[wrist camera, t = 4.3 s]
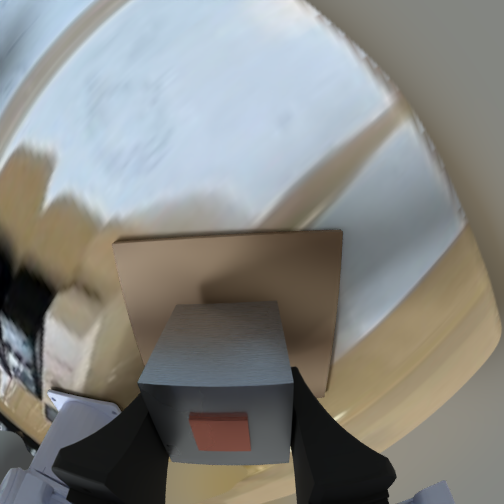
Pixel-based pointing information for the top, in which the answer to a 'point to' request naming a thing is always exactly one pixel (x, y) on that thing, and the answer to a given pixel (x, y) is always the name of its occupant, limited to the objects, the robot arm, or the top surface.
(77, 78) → the top surface
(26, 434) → the top surface
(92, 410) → the robot arm
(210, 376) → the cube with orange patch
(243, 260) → the board
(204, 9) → the top surface
